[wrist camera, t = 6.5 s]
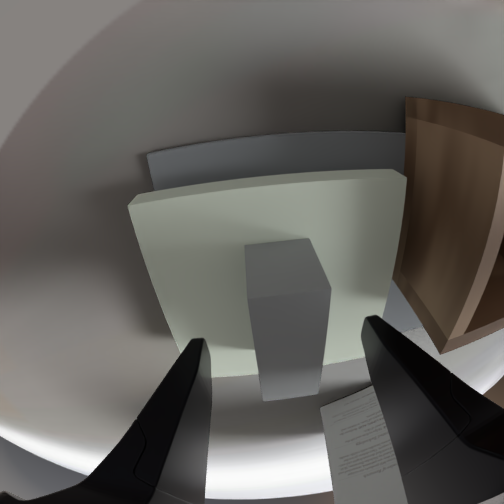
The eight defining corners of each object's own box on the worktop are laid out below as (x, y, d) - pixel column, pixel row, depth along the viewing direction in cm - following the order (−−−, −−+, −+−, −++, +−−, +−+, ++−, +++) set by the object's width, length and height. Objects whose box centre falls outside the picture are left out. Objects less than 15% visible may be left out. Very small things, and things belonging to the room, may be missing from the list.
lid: (358, 327, 14) (387, 397, 10) (195, 346, 14) (187, 423, 10) (379, 161, 9) (454, 209, 5) (146, 185, 9) (91, 247, 6)
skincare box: (399, 405, 21) (438, 531, 9) (344, 430, 23) (370, 554, 10) (383, 375, 18) (437, 550, 5) (311, 407, 19) (340, 577, 6)
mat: (453, 312, 15) (456, 315, 14) (206, 355, 15) (206, 361, 15) (496, 144, 9) (501, 146, 9) (149, 152, 9) (146, 154, 9)
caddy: (493, 255, 12) (542, 306, 8) (389, 275, 12) (440, 354, 8) (516, 122, 8) (587, 153, 4) (405, 96, 8) (506, 115, 4)
